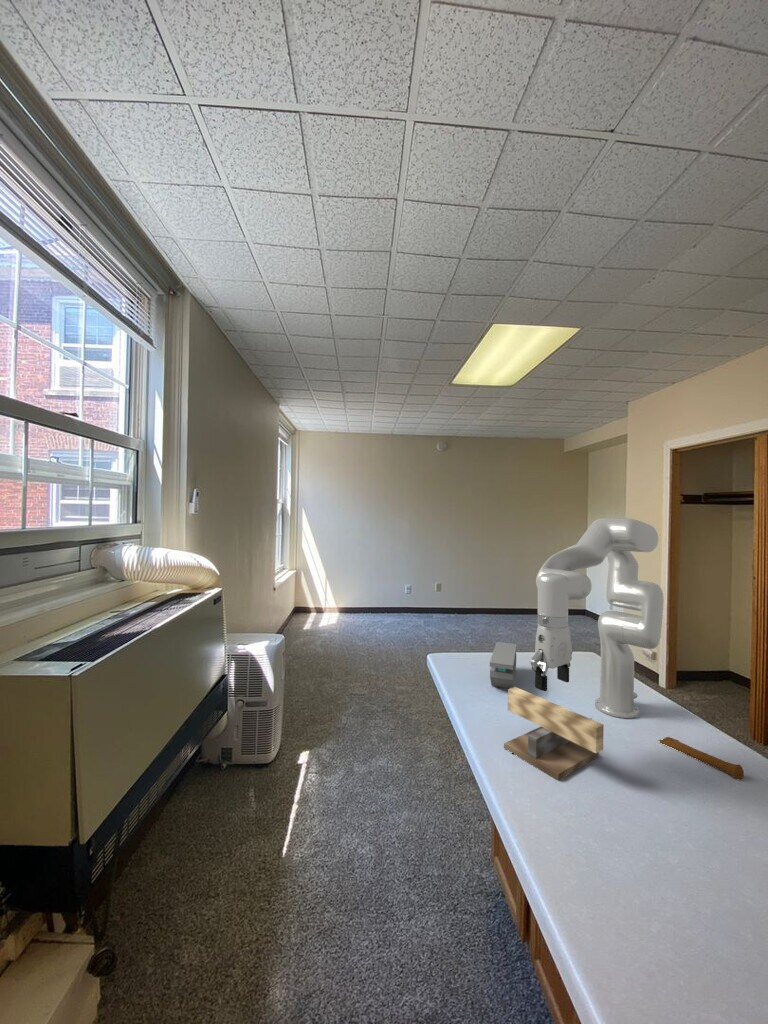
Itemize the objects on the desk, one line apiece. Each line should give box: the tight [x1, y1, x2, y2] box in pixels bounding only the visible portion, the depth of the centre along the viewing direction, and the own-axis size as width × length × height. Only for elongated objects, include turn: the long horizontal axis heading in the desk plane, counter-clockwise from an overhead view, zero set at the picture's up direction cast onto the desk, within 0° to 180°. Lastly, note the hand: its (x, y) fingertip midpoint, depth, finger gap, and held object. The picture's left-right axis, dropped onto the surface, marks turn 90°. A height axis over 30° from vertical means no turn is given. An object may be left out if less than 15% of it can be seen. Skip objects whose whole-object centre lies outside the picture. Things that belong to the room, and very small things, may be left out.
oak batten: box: [507, 686, 605, 753], centre depth 112 cm, size 26×3×6 cm, turn 34°
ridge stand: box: [503, 726, 600, 781], centre depth 112 cm, size 18×16×6 cm
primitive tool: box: [658, 736, 745, 780], centre depth 110 cm, size 19×6×4 cm, turn 26°
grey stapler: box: [489, 641, 518, 689], centre depth 158 cm, size 25×8×11 cm, turn 160°
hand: (552, 685), depth 112 cm, fingers open, 9 cm apart
